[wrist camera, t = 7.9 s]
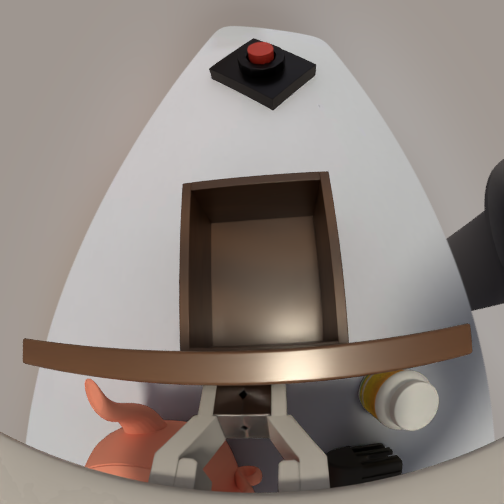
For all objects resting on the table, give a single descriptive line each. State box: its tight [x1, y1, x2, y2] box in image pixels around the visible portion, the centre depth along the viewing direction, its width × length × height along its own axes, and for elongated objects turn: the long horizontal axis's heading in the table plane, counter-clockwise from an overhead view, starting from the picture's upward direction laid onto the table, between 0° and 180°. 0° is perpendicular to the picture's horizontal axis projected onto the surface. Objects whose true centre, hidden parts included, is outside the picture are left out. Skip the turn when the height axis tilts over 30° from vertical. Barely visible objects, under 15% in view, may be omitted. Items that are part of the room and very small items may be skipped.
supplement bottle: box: [359, 369, 439, 431], centre depth 23 cm, size 5×5×10 cm
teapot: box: [85, 379, 262, 493], centre depth 21 cm, size 16×17×14 cm
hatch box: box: [179, 172, 349, 351], centre depth 28 cm, size 15×13×9 cm
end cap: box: [326, 443, 402, 488], centre depth 21 cm, size 10×7×7 cm
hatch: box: [23, 323, 472, 386], centre depth 14 cm, size 15×13×1 cm
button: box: [247, 42, 274, 64], centre depth 36 cm, size 4×4×2 cm
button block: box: [209, 38, 316, 110], centre depth 38 cm, size 12×10×4 cm
